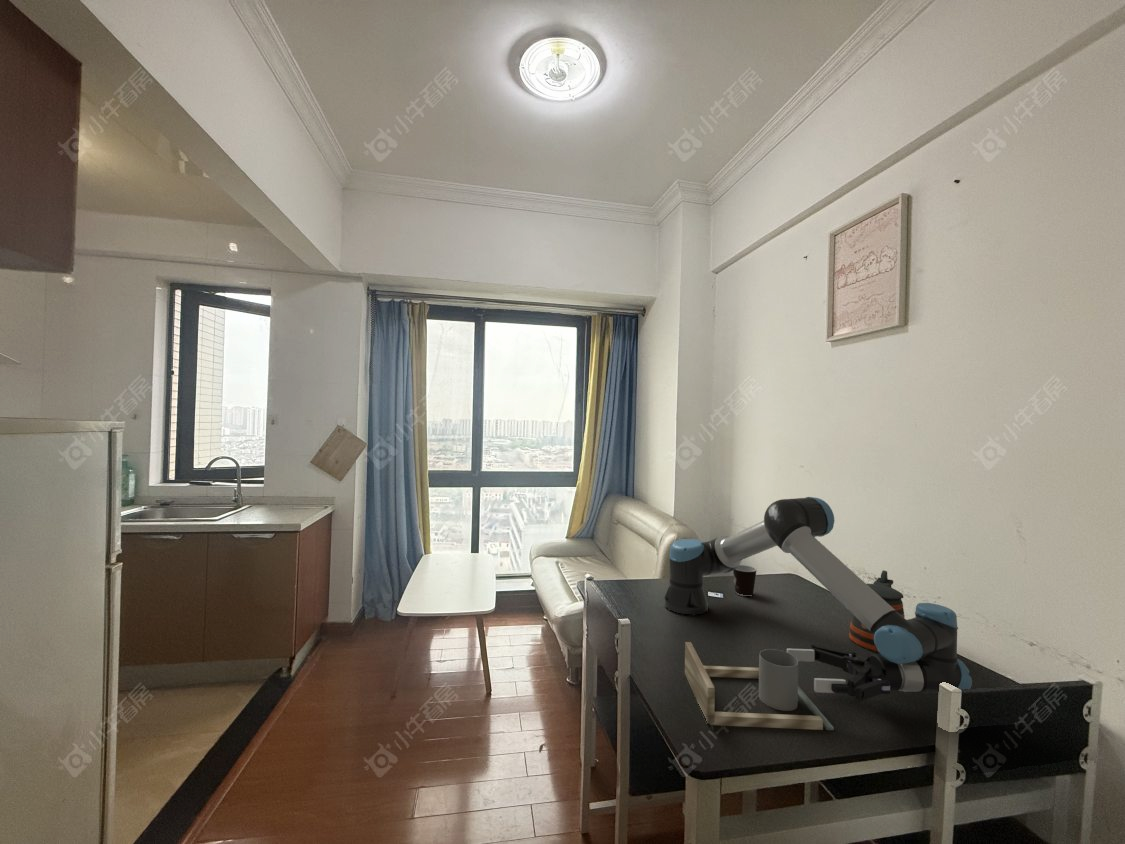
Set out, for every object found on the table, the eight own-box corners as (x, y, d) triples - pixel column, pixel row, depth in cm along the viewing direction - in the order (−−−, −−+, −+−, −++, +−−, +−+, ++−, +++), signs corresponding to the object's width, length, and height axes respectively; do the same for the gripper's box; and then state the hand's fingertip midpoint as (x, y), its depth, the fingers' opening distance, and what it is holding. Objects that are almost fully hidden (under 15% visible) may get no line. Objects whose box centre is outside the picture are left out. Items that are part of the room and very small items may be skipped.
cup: (795, 694, 110) (795, 652, 110) (800, 714, 103) (801, 669, 103) (757, 687, 113) (757, 646, 113) (760, 705, 105) (760, 662, 105)
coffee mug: (754, 599, 171) (754, 573, 172) (730, 595, 176) (730, 569, 176) (759, 590, 181) (759, 565, 181) (736, 586, 186) (736, 561, 186)
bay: (707, 724, 98) (707, 687, 98) (684, 672, 119) (685, 641, 119) (833, 730, 97) (834, 692, 97) (788, 676, 118) (788, 645, 118)
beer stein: (854, 624, 152) (855, 563, 152) (909, 637, 142) (910, 573, 142) (845, 644, 137) (846, 577, 137) (906, 660, 128) (907, 589, 128)
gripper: (933, 723, 94) (828, 718, 95) (860, 661, 119) (777, 658, 120) (934, 686, 94) (829, 682, 95) (860, 632, 119) (777, 629, 120)
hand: (799, 668), depth 107 cm, fingers open, 13 cm apart
